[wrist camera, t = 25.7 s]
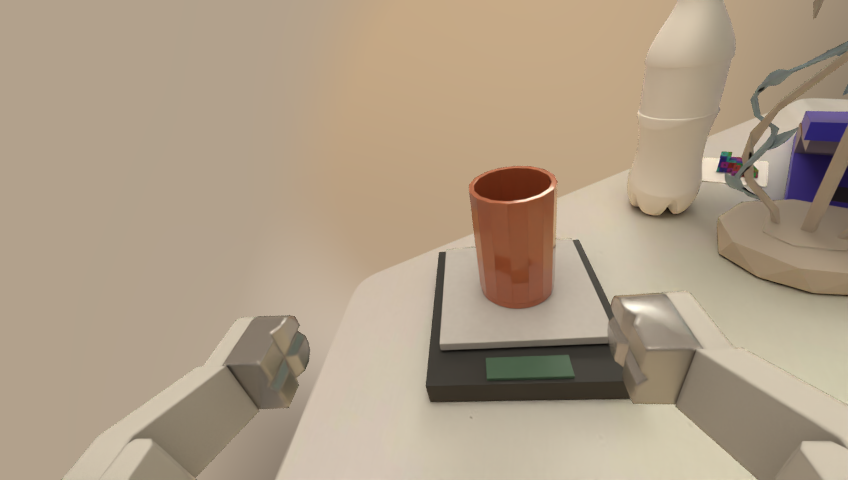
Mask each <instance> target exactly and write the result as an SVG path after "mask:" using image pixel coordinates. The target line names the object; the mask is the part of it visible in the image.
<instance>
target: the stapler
mask: <svg viewBox="0 0 848 480" xmlns="http://www.w3.org/2000/svg"><path fill="white" fill-rule="evenodd" d="M847 125H848V112H824V111H806V112H805V115H804V118H803V120H802V123H800V124H799V128H798V130H797V132H796V135H795V137H794V142H793V148H792V154H791V160H790V166H789V172H788V178H787V184H786V190H785V196H784V200H788V199H795V200H801V201H807V202H813V200H814V198H815V195H816V193H817V191H818V189H819V187H820V184H821V182H822V180H823V178H824V176H825V173H826V171H827V169H828V167H829V165H830V163H831V160H832V158H833V156H834V154H835V152H836V149H837V147H838V145H839V143H840V141H841V138H842V136H843V134H844V132H845V130H846V127H847ZM829 205H831V206H837V207H842V208H848V166H847V168H846V170H845V172H844V174H843V176H842V178H841V180H840V182H839V185H838V187H837V189H836V191H835V193H834V195H833V197H832V199H831V201H830V203H829Z"/></svg>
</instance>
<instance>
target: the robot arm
mask: <svg viewBox="0 0 848 480" xmlns="http://www.w3.org/2000/svg"><path fill="white" fill-rule="evenodd" d="M611 310H612V312H613V314H614V317H613V318H612V319H611V320H609V321H608V329H607V335H608V343H609V347H610V351H611V353H612V356H613V358H614V361H616V362H617V363H618V364H620V365H621V366H622V367H623V372H622V380H623V382H624V384H625V386H626V389H627V391H628V393H629V396H630V398H631V400H632V403H633V404H676V406H675V407H677V408H678V409H679V410H680V411H681V412H682V413H683V414H684V415H686V416H687V417H688V418H689V419H690V420H691V421H692V422H693V423H695V424H696V425H697V426H698V427H699V428H700V429H701V430H703V431H704V432H705V433H706V434H707V435H708V436H709V437H710V438H712V439H713V440H714V441H715V442H716V443H717V444H718V445H719V446H721V447H722V448H723V449H724V450H725V451H726V452H727V453H728V454H730V455H731V456H732V457H733V458H734V459H735V460H736V461H738V462H739V463H740V464H741V465H742V466H743V467H744V468H745V469H747V470H748V471H749V472H750V473H751V474H752V475H753V476H754V477H756V478H757V479H758V480H848V405H847V404H845V403H843V402H841V401H840V400H838V399H836V398H834V397H832V396H830V395H829V394H827V393H825V392H823V391H821V390H819V389H818V388H816V387H814V386H812V385H810V384H808V383H807V382H805V381H803V380H801V379H799V378H797V377H796V376H794V375H792V374H790V373H788V372H786V371H785V370H783V369H781V368H779V367H777V366H775V365H774V364H772V363H770V362H768V361H766V360H764V359H763V358H761V357H759V356H757V355H755V354H753V353H751V352H750V351H748V350H746V349H744V348H734V347H733V345H732V344H731V343H730V342H729V340H728V339H727V338H726V337H725V335H724V334H723V333H722V332H721V330H720V329H719V328H718V327H717V325H716V324H715V323H714V321H713V320H712V319H711V318H710V316H709V315H708V314H707V313H706V311H705V310H704V309H703V308H702V306H701V305H700V304H699V303H698V301H697V300H696V299H695V298H694V296H693V295H692V294H691V293H689V292H687V291H677V292H662V293H649V294H635V295H620V296H614V298H613V299H612V302H611ZM299 326H300V325H299V323H298V321H297V319H296V317H295V316H290V315H289V316H259V317H241V318H240V319H238V320H236V321H235V322H234V324H233V325H232V327H231V328H230V329H229V331H228V332H227V334H226V335H225V336H224V338H223V339H222V341H221V342H220V343H219V345H218V346H217V347H216V349H215V350H214V352H213V353H212V355H211V356H210V357H209V359H208V360H207V362H206V363H205V364H204V366H203V367H197V368H195V369H194V370H192V371H191V372H189V373H188V374H187V375H185V376H184V377H182V378H181V379H179V380H178V381H177V382H175V383H174V384H172V385H171V386H169V387H168V388H167V389H165V390H164V391H162V392H161V393H159V394H158V395H156V396H155V397H154V398H152V399H151V400H149V401H148V402H146V403H145V404H144V405H142V406H141V407H139V408H138V409H136V410H135V411H134V412H132V413H131V414H129V415H128V416H126V417H125V418H123V419H122V420H121V421H119V422H118V423H116V424H115V425H113V426H112V427H111V428H109V429H108V430H106V431H105V432H103V433H102V434H101V435H100V436H98V437H97V438H96V439H95V440H94V442H93V443H92V444H91V445H90V446H89V447H88V449H87V450H86V451H85V452H84V453H83V455H82V456H81V457H80V458H79V459H78V461H77V462H76V463H75V464H74V465H73V466H72V468H71V469H70V470H69V471H68V473H67V474H66V475H65V476H64V477H63V478H62V480H197V479H195V478H196V477H197V476H198V475H199V474H200V473H201V472H202V470H204V469H205V467H206V466H207V465H208V464H209V463H210V462H211V461H212V460H213V459H214V458H215V457H216V456H217V455H218V454H219V453H220V452H221V451H222V450H223V449H224V448H225V447H226V445H227V444H228V443H229V442H230V441H231V440H232V439H233V438H234V437H235V436H236V435H237V434H238V433H239V432H240V431H241V430H242V429H243V428H244V427H245V426H246V425H247V424H248V423H249V421H250V420H251V419H252V418H253V417H254V416H255V415H256V414H257V413H258V412H259V409H277V408H289V406H290V404H291V402H292V399H293V397H294V395H295V393H296V390H297V388H298V386H299V384H298V381H297V377H298V376H299V375H300V374H302V373H303V372H304V371H305V369H306V367H307V364H308V362H309V355H310V347H309V343H308V340H307V338H306V336H305V335H303V334H301V333H300V332H299V331H298V328H299Z"/></svg>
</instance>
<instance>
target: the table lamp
mask: <svg viewBox="0 0 848 480" xmlns="http://www.w3.org/2000/svg"><path fill="white" fill-rule="evenodd" d="M823 1H824V0H815V1H814V2H813V18H816V16H817V14H818V12H819V10H820V8H821V5H822V3H823ZM835 55H838V56H839V57H838V58H837V59H836V60H834V61H833V62H831V63H830V64H829V65H828V66H826V67H825V68H823V69H822V70H820V71H819V72H818V73H816V74H815V75H814V76H813V77H811V78H810V79H808V80H807V81H806V82H804V83H803V84H802V85H800V86H799V87H798V88H796V89H795V90H794V91H792V92H791V93H789V94H788V95H787V96H785V97H784V98H783V99H782V100H780V102H779V103H778V104H777V105H776V106H775V107H774V108H773V109H772V110H771V111H770V112H769V113H768V114H767V115H766V116H765V118H764V117H762V116H761V115H760V110H759V103H758V98H757V96H758V95H759V93H761V92H762V91H763V90H764V89H765V88H767V87H768V86H774V85H778V84H780V83H781V82H782V81H784V80H785V79H786V78H787V77H788V76H789V75H791V74H792V73H793V72H795V71H798V70H800V69H803V68H805V67H808V66H810V65H812V64H815V63H817V62H820V61H822V60H825V59H827V58H829V57H832V56H835ZM847 61H848V41H847V42H845V43H843V44H841V45H839V46H837V47H836V48H833V49H831V50H828V51H827V52H826V53H824V54H822V55H820V56H818V57H816V58H814V59H813V60H810V61H808V62H807V63H805V64H803V65H800V66H798V67H795V68H793V69H790V70H780V69H779V70H776V71H774V72H772V73H770V74H769V75H768V77H767V78H766V79H765V80H764V82H763V83H762V84H761V85H760V86H758V88H757V90H756V91H755V93H754V95H753V96H752V98H751V104H752V108H753V112H754V115H755V117H757V118H758V119H759V120H761V122H760V123H759V124H758V125H757V126H756V127H755V128H754V129H753V130H752V131H751V133H750V136H749V139H748V141H747V144H746V147H745V149H744V152H743V155H742V162H743V166H742V167H741V168H740V170H739V171H738V172H737V173H736V174H735V177H734V176H731V175H729V174H726V173H725V181H726V183H727V184H728V185H729V187H732V188H734V189H737V190H739V191H742V192H744V193H745V194H747V195H748V196H750V197H753V198H756V199H759V200H761V201H747V202H741V203H739V204H738V205H736V206H735V207H733V208H732V209H730V210H729V211H727V212H725V213H724V214H722V215H721V216H719V217H718V223H717V237H718V253H719V254H721V255H723V256H724V257H726V258H727V259H729V260H731V261H732V262H734V263H736V264H737V265H739V266H741V267H742V268H744V269H746V270H747V271H749V272H750V273H752V274H754V275H755V276H757V277H760V278H763V279H767V280H770V281H774V282H777V283H780V284H784V285H787V286H791V287H794V288H798V289H801V290H805V291H808V292H811V293H822V294H841V295H848V208H842V207H837V206H831V205H829V203H830V201H831V199H832V197H833V195H834V193H835V191H836V189H837V187H838V185H839V182H840V180H841V178H842V176H843V174H844V172H845V170H846V168H847V166H848V125H847V127H846V130H845V132H844V134H843V136H842V138H841V141H840V143H839V145H838V147H837V149H836V152H835V154H834V156H833V158H832V160H831V163H830V165H829V167H828V169H827V171H826V173H825V176H824V178H823V180H822V182H821V184H820V187H819V189H818V191H817V193H816V195H815V198H814V200H813V202H807V201H801V200H795V199H788V200H771V199H770V198H769V196H768V195H767V194H766V193H765V192H764V191H763V189H762V188H761V187H760V186H759V185H758V183H757V182H756V181H755V180H754V163H755V162H756V161H757V160H758V159H759V158H760V157H761V156H762V155H763V154H764V153H765V152H766V151H767V150H770V149H773V148H776V147H778V146H780V145H781V144H783V143H785V142H786V141H787V140H788V139H789V138H790V137H791V136H792V135H793V134H794V133H795V132H796V131H797V130H798V128H799V127H797V128H795V129H793V130H791V131H787V132H784V133H781V134H779V135H777V132H778V130H779V128H778V127H776V126H775V125H774V124H772V123H771V122H772V120H773V119H774V117H775V116H776V114H777V113H778V112H779V111H780V110H781V109H782V108H784V107H785V106H787V105H788V104H789V103H791V102H792V101H793V100H795V99H796V98H797V97H799V96H800V95H802V94H803V93H804V92H806V91H807V90H809V89H810V88H811V87H813V86H814V85H815V84H817V83H818V82H820V81H821V80H822V79H824V78H825V77H826V76H828V75H829V74H830V73H832V72H833V71H835V70H836V69H837V68H839V67H840V66H842V65H843V64H844V63H846V62H847ZM847 93H848V85H847V87H846V89H845V91H844V93H843V95H845V94H847ZM768 126H769V127H771V135H770V137H769V138H768V140H767V141H766V142H765V143H764V145H763V146H762V147H761V148H760V149H759V150H758V151H757V152H756V153H755V154H754V155H753V147H754V146H755V144H756V143H757V142H758V140H759V139H760V137H761V136H762V134H763V133H764V132H765V130H766V129H767V127H768ZM776 135H777V136H776ZM743 174H744V177H745V182H746V183H747V185H748V186H749V187H750V188H751V189H752V190H753V192H754V193H755V194H753V193H751V192H750V191H748V190H747V189H746V188H744V187H743V183H742V181H741V179H740V178H741V176H742V175H743Z"/></svg>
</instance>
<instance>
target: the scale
mask: <svg viewBox="0 0 848 480" xmlns="http://www.w3.org/2000/svg"><path fill="white" fill-rule="evenodd" d="M613 317H614V314H613V312H612V310H611V306H610V304H609V302H608V299H607V297H606V295H605V293H604V291H603V289H602V287H601V285H600V283H599V281H598V279H597V277H596V275H595V273H594V271H593V268H592V266H591V264H590V262H589V260H588V258H587V256H586V254H585V252H584V250H583V248H582V246H581V244H580V242H579V240H572V238H566V239H556V252H555V281H554V288H553V291H552V293H551V295H550V296H549V297H548V299H546V300H545V301H544V302H542V303H540V304H538V305H536V306H533V307H529V308H522V309H513V308H506V307H502V306H499V305H497V304H495V303H493V302H491V301H490V300H489V299H487V298H486V297H485V295H484V294H483V292H482V290H481V286H480V278H479V270H478V261H477V253H476V247H468V248H457V249H447V250H446V252H439V258H438V268H437V278H436V288H435V299H434V309H433V319H432V329H431V339H430V349H429V360H428V370H427V380H426V388H427V392H428V395H429V399H430V402H442V401H501V400H560V399H620V398H630V396H629V393H628V391H627V389H626V386H625V384H624V382H623V380H622V372H623V367H622V366H621V365H620V364H618V363H617V362H616V361H614V358H613V356H612V353H611V351H610V347H609V343H608V335H607V329H608V321H609V320H611V319H612V318H613Z"/></svg>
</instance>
